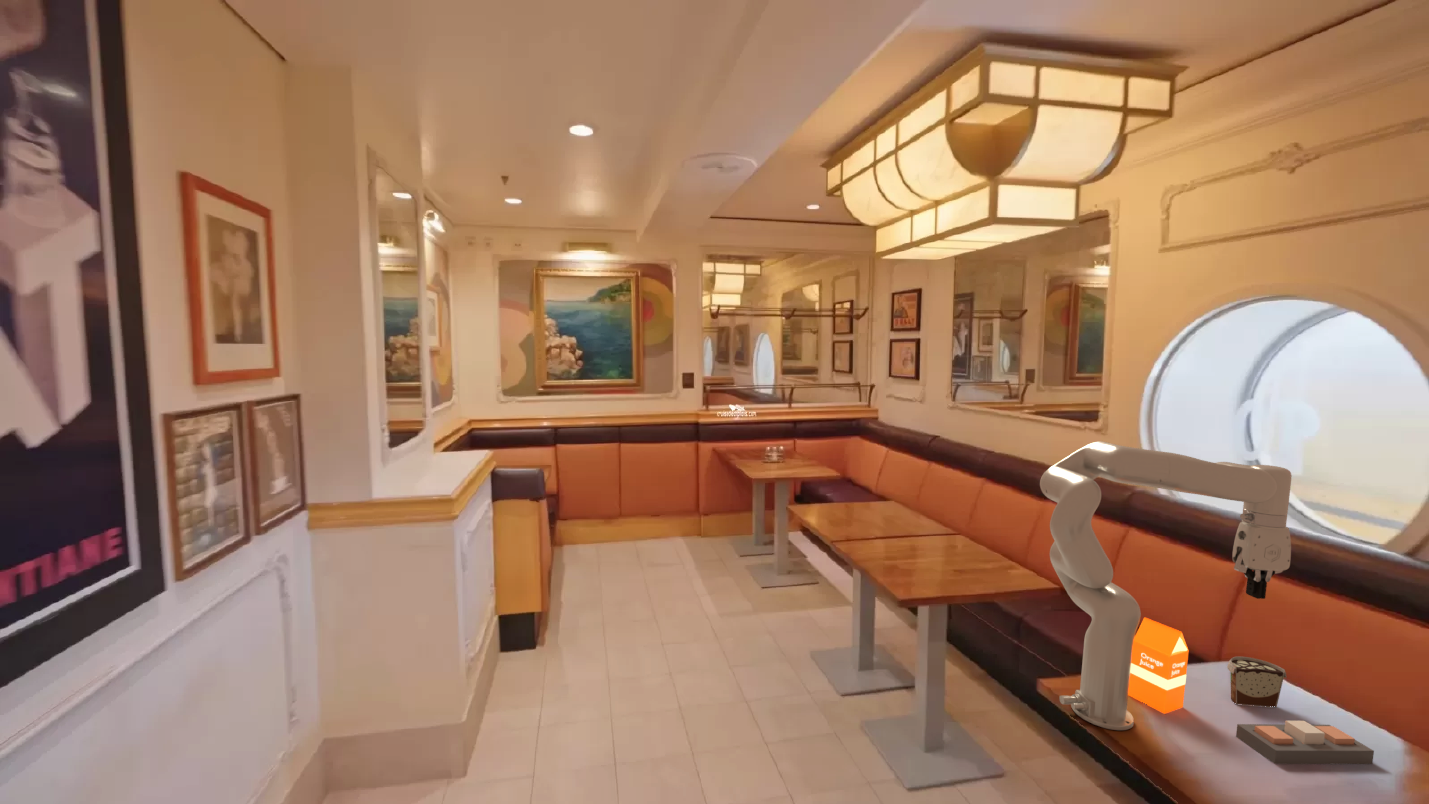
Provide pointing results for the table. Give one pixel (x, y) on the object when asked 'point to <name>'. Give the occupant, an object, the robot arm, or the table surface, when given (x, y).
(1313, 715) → the table surface
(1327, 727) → the outer button
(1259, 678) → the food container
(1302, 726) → the middle button
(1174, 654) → the orange juice
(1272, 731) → the inner button
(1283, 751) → the control panel
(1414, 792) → the table surface
